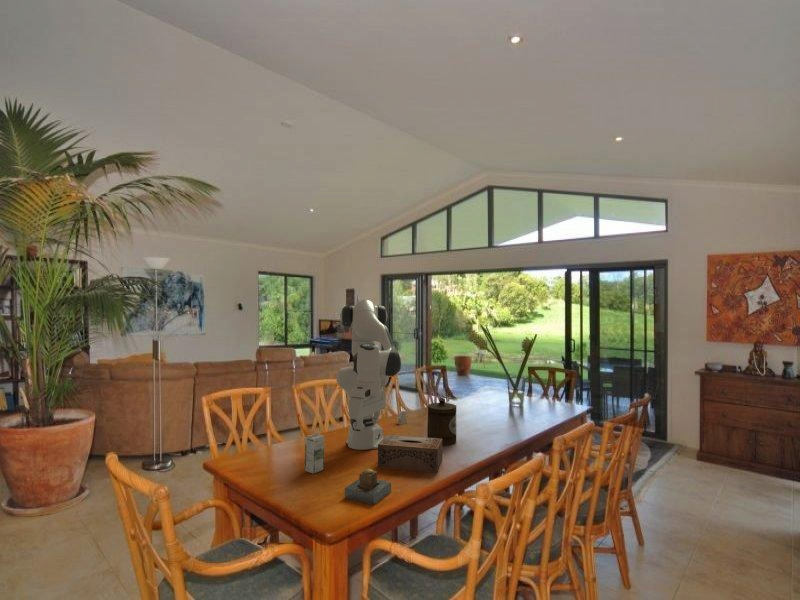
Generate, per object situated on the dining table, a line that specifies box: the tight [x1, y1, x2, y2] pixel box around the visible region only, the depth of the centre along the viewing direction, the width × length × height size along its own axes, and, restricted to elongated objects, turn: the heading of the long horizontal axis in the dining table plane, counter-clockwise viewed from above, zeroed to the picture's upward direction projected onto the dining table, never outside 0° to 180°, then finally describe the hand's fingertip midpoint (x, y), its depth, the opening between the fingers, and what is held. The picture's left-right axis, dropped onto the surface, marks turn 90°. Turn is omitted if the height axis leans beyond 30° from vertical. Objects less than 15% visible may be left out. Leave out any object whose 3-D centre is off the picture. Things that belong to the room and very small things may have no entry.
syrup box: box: [304, 433, 325, 474], centre depth 180 cm, size 6×6×14 cm
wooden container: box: [426, 397, 457, 447], centre depth 220 cm, size 15×15×22 cm
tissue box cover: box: [377, 434, 443, 473], centre depth 188 cm, size 26×14×10 cm, turn 77°
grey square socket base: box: [344, 477, 392, 506], centre depth 157 cm, size 12×12×4 cm
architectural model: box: [396, 410, 408, 425], centre depth 254 cm, size 3×7×7 cm, turn 145°
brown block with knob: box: [359, 468, 378, 490], centre depth 157 cm, size 5×5×9 cm
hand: (368, 426), depth 157 cm, fingers open, 8 cm apart
